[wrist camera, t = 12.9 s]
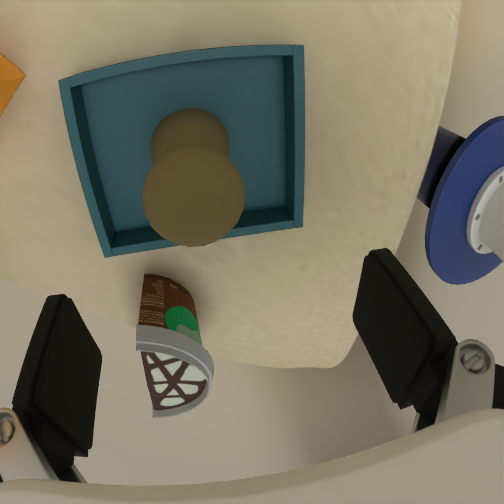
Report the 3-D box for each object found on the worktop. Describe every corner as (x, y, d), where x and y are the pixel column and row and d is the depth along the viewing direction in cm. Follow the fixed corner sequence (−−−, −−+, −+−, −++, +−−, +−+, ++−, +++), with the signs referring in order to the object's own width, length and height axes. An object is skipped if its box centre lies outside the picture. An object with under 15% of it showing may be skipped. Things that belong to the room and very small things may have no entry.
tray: (290, 45, 21) (304, 44, 18) (292, 210, 29) (303, 227, 27) (71, 76, 19) (58, 80, 16) (110, 238, 27) (104, 257, 25)
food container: (204, 344, 37) (214, 418, 29) (153, 345, 36) (153, 420, 28) (208, 261, 31) (220, 343, 23) (143, 261, 29) (135, 345, 21)
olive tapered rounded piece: (235, 113, 23) (272, 158, 14) (222, 185, 26) (246, 268, 17) (155, 104, 21) (133, 144, 12) (147, 179, 24) (129, 262, 16)
